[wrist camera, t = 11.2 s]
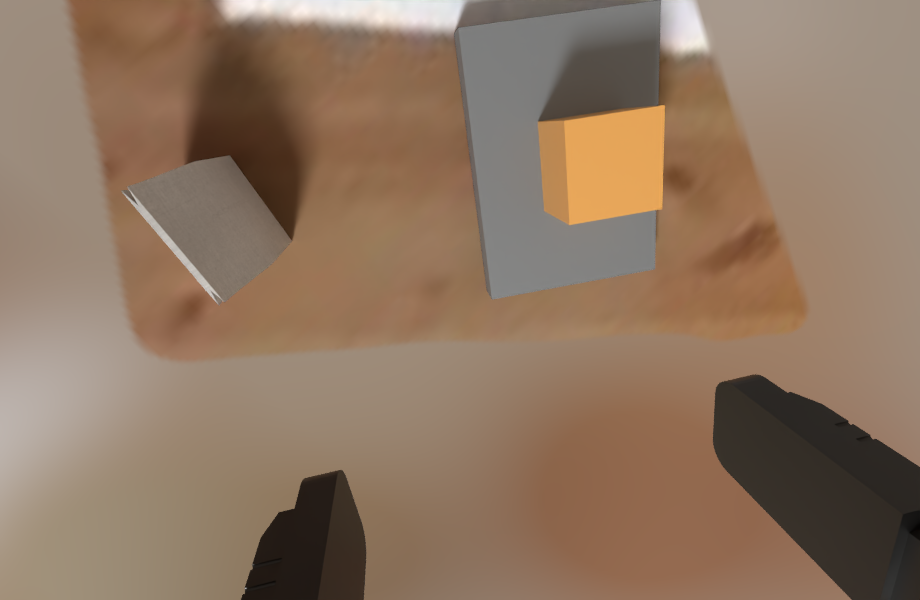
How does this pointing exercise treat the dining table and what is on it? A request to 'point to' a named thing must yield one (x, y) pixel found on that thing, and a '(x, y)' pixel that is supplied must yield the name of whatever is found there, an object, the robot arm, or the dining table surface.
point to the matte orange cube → (602, 164)
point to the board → (517, 138)
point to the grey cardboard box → (212, 223)
